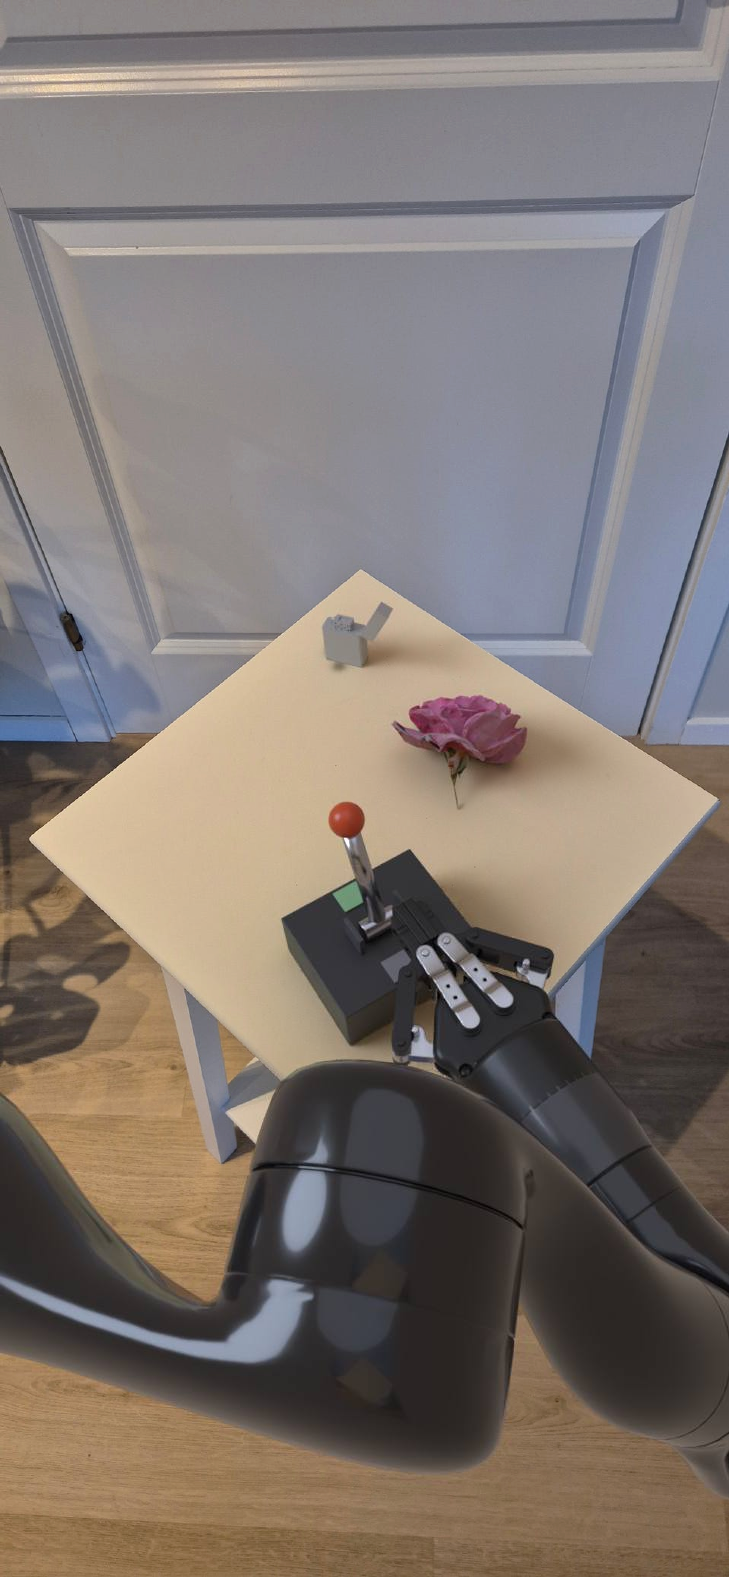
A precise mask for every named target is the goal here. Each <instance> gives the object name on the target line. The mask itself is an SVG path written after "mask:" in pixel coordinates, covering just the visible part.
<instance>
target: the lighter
mask: <svg viewBox="0 0 729 1577" xmlns="http://www.w3.org/2000/svg"><path fill="white" fill-rule="evenodd" d="M393 610H394V608H393V607H391V606H390V605H388V604H387V603H385V602H383V601H380V603H379V604H378V606H377V608H376V609H375V611H374V612H373V614H372V616H371V617H370V619H369V620H368V622H367V623H366V624H363V623H358V622H355V618H354V617H353V616H348V615H343V614H339V613H338V614H336V615H335V616H333V617H332V616H327V617H326V618H325V620H324V622H323V624H322V626H321V631H322V632H321V633H322V640H323V649H324V657H325V659H326V660H329V661H333V662H337V663H342V664H345V665H349V666H352V667H357V668H363V667H364V666H365V664H366V663H367V660H368V658H369V651H368V650H369V649H368V642H370V643H373V642H374V641H375V639H376V638H377V636H378V635H379V633H380V632H381V630H382V629H383V627H384V625H385V624H386V623H387V621H388V619H389V618H390V615H391V614H392V612H393Z"/></svg>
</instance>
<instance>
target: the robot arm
mask: <svg viewBox="0 0 729 1577" xmlns="http://www.w3.org/2000/svg"><path fill="white" fill-rule="evenodd" d="M390 919H391V929H392V934H393V936H394V937H395V938H396V940H397V941H398V943H399V944H400V945H401V947H402V948H403V949H404V951H405V952H406V954H407V955H408V956H409V958H410V959H411V961H410V963H409V964H408V965H405V966H403V967H402V968H401V969H400V970H399V974H398V984H397V993H396V1003H395V1012H394V1020H393V1021H392V1031H391V1032H392V1033H391V1042H390V1043H391V1045H390V1046H391V1056H392V1062H391V1061H382V1060H372V1059H345V1058H343V1059H331V1060H324V1061H317V1062H313V1063H310V1064H308V1065H304V1066H302V1067H299V1068H296V1069H295V1070H294V1071H292V1072H291V1073H289V1075H287V1076H285V1077H284V1078H283V1079H282V1080H281V1081H280V1083H279V1084H278V1085H277V1087H276V1088H275V1089H274V1092H273V1094H272V1096H271V1098H270V1102H269V1104H268V1107H267V1109H266V1112H265V1115H264V1117H263V1119H262V1122H261V1126H260V1129H259V1132H258V1135H257V1138H256V1142H255V1145H254V1149H253V1153H252V1157H251V1160H250V1163H249V1164H250V1165H249V1167H248V1172H249V1174H248V1175H247V1176H246V1180H245V1184H244V1188H243V1192H242V1196H241V1200H240V1204H239V1208H238V1212H237V1216H236V1221H235V1223H234V1227H233V1228H234V1229H233V1232H232V1236H231V1241H230V1243H229V1248H228V1252H227V1256H226V1260H225V1265H224V1268H223V1273H224V1274H223V1275H222V1276H223V1277H222V1279H221V1283H220V1287H219V1290H218V1293H217V1294H216V1295H215V1296H214V1297H213V1298H212V1299H210V1300H204V1299H203V1298H201V1297H199V1295H196V1294H194V1293H193V1292H192V1291H190V1290H188V1289H186V1288H185V1287H183V1286H182V1285H180V1284H179V1283H177V1282H175V1281H174V1280H172V1279H171V1278H170V1277H168V1276H167V1275H166V1274H165V1273H163V1272H162V1271H161V1270H160V1269H158V1268H157V1267H156V1266H154V1265H153V1264H151V1263H150V1262H149V1261H148V1260H147V1259H145V1258H144V1257H143V1256H142V1255H141V1254H140V1253H139V1252H137V1250H135V1249H134V1248H133V1247H132V1246H131V1245H130V1244H129V1243H128V1242H127V1240H125V1239H124V1238H123V1237H122V1236H121V1235H120V1234H119V1233H118V1232H117V1231H116V1230H115V1229H114V1228H113V1226H111V1224H110V1223H109V1222H107V1220H106V1219H104V1217H103V1216H102V1214H101V1213H100V1212H99V1211H98V1209H96V1207H95V1205H93V1204H92V1202H91V1201H90V1200H89V1199H88V1197H87V1196H86V1194H85V1192H84V1191H83V1190H82V1189H81V1187H80V1185H79V1184H78V1183H77V1181H76V1180H75V1179H74V1177H73V1176H72V1174H71V1173H70V1171H69V1170H68V1169H67V1167H66V1166H65V1164H64V1163H63V1161H62V1160H61V1159H60V1157H59V1156H58V1154H56V1152H55V1151H54V1149H53V1148H52V1146H51V1145H50V1144H49V1143H48V1141H47V1140H46V1139H45V1137H44V1136H43V1135H42V1134H41V1133H40V1132H39V1130H38V1128H36V1127H35V1125H34V1124H33V1123H32V1121H31V1120H30V1119H29V1118H28V1116H27V1115H26V1114H25V1113H24V1112H23V1111H22V1110H21V1109H20V1108H19V1106H17V1105H16V1104H15V1103H14V1102H13V1101H12V1100H11V1099H10V1098H8V1097H7V1096H6V1095H5V1094H3V1093H2V1092H1V1091H0V1354H2V1355H7V1356H11V1357H15V1358H18V1359H23V1360H27V1361H31V1362H34V1363H35V1362H36V1363H39V1364H42V1365H45V1366H49V1367H52V1368H56V1369H59V1370H62V1371H65V1372H68V1373H72V1374H75V1375H78V1376H81V1377H84V1378H87V1379H90V1380H93V1381H96V1382H99V1383H102V1384H106V1385H108V1386H110V1387H114V1388H117V1389H120V1390H123V1391H126V1392H129V1393H132V1394H135V1395H139V1396H142V1397H145V1398H147V1399H151V1400H153V1401H156V1402H158V1403H159V1402H160V1403H163V1404H166V1405H169V1406H172V1407H175V1408H177V1409H180V1410H183V1411H186V1412H189V1413H193V1414H195V1415H199V1416H201V1417H204V1418H207V1419H211V1420H213V1421H216V1422H220V1423H221V1424H225V1425H229V1426H231V1427H234V1428H237V1429H240V1430H243V1431H246V1432H250V1433H252V1434H255V1435H258V1436H261V1437H264V1438H268V1439H271V1440H274V1441H278V1442H280V1443H284V1444H287V1445H290V1446H294V1447H298V1448H301V1449H304V1450H307V1451H310V1452H312V1453H317V1454H319V1455H322V1456H327V1457H330V1458H333V1459H336V1460H341V1461H344V1462H349V1463H353V1464H357V1465H361V1466H367V1467H370V1468H374V1469H378V1470H384V1471H391V1472H397V1473H405V1474H412V1475H427V1476H436V1475H439V1476H440V1475H452V1474H459V1473H463V1472H467V1471H470V1470H473V1469H475V1468H477V1467H479V1466H481V1465H482V1464H485V1462H487V1461H488V1460H489V1459H490V1458H491V1456H493V1454H494V1453H495V1451H496V1450H497V1448H498V1446H499V1444H500V1442H501V1438H502V1435H503V1432H504V1431H503V1430H504V1425H505V1422H506V1416H507V1410H508V1404H509V1396H510V1388H511V1381H512V1380H511V1378H512V1372H513V1370H512V1369H513V1363H514V1353H515V1339H516V1335H517V1325H518V1317H519V1316H518V1315H519V1308H520V1310H521V1312H522V1314H523V1316H524V1319H525V1320H526V1322H527V1324H528V1326H529V1328H530V1330H531V1332H532V1333H533V1335H534V1337H535V1339H536V1341H537V1343H538V1344H539V1346H540V1348H541V1350H542V1352H543V1354H544V1356H545V1358H546V1360H547V1361H548V1362H549V1364H550V1366H551V1368H552V1369H553V1370H554V1372H555V1373H556V1375H557V1376H558V1377H559V1379H560V1380H561V1381H562V1382H563V1384H564V1385H565V1387H566V1388H567V1390H568V1391H569V1392H570V1394H572V1395H573V1396H574V1397H575V1398H576V1399H577V1400H578V1401H579V1402H580V1403H581V1404H582V1405H583V1406H584V1407H585V1408H586V1409H588V1410H589V1411H590V1412H591V1413H592V1414H594V1415H595V1416H596V1417H597V1418H599V1419H601V1420H602V1421H604V1422H605V1423H607V1424H609V1425H610V1426H612V1427H614V1428H617V1429H619V1430H621V1431H623V1432H626V1433H629V1434H632V1435H636V1436H639V1437H642V1438H645V1439H649V1440H651V1441H656V1442H659V1443H662V1444H667V1445H669V1446H670V1447H671V1448H672V1449H673V1450H674V1451H675V1452H676V1453H677V1454H678V1456H679V1457H680V1458H681V1460H682V1461H683V1463H684V1464H685V1466H686V1467H687V1468H688V1469H689V1471H690V1472H691V1473H692V1475H693V1476H694V1477H695V1478H696V1479H697V1480H698V1481H699V1482H701V1484H702V1485H703V1486H705V1488H707V1489H708V1490H709V1491H710V1492H711V1493H713V1494H714V1495H715V1496H718V1497H720V1498H722V1499H724V1500H728V1501H729V1231H728V1230H727V1229H726V1228H725V1227H724V1226H723V1225H722V1224H721V1223H720V1222H719V1221H718V1220H717V1219H716V1218H715V1217H714V1216H713V1215H712V1214H711V1213H710V1212H709V1211H708V1210H707V1209H706V1207H705V1206H704V1205H703V1204H702V1203H701V1202H700V1201H699V1200H698V1199H697V1197H696V1196H695V1195H694V1194H693V1193H692V1192H691V1190H690V1188H688V1187H687V1186H686V1184H685V1183H684V1181H683V1180H682V1179H681V1178H680V1177H679V1175H678V1174H677V1173H676V1171H675V1170H674V1169H673V1167H672V1166H671V1165H670V1164H669V1162H668V1161H667V1160H666V1159H665V1158H664V1156H663V1155H662V1154H661V1153H660V1151H659V1150H658V1149H657V1147H655V1146H654V1143H653V1142H652V1141H651V1139H650V1138H649V1137H648V1135H647V1134H646V1132H645V1130H644V1129H643V1127H642V1126H641V1124H640V1122H639V1121H638V1119H637V1117H636V1115H635V1114H634V1112H633V1111H632V1110H631V1108H630V1107H629V1106H628V1104H627V1103H626V1102H625V1100H624V1099H623V1098H622V1096H621V1095H620V1094H619V1092H618V1091H617V1090H616V1088H614V1086H613V1085H612V1084H611V1083H610V1081H609V1080H608V1079H607V1078H606V1077H605V1075H604V1074H603V1073H602V1071H601V1070H600V1069H599V1068H598V1067H597V1065H596V1064H595V1063H594V1061H592V1059H591V1058H590V1056H589V1055H588V1054H587V1052H586V1051H585V1050H584V1049H583V1048H582V1047H581V1045H580V1044H579V1043H578V1041H577V1040H576V1038H574V1036H573V1035H572V1034H571V1032H569V1030H568V1029H567V1028H566V1026H565V1025H564V1024H563V1022H561V1020H560V1019H559V1018H557V1016H556V1015H555V1014H554V1012H553V1009H552V1007H551V1001H550V997H549V995H548V993H547V992H546V991H545V986H546V983H547V981H548V980H549V979H550V977H551V974H552V970H553V965H554V959H555V953H554V952H553V950H552V949H551V948H549V947H546V946H543V945H540V944H536V943H532V942H528V941H526V940H522V939H519V938H516V937H512V936H509V935H505V934H501V933H498V932H495V931H492V930H489V929H488V930H487V929H484V928H481V927H478V926H471V928H469V929H468V930H467V931H466V932H464V933H459V934H453V933H450V932H448V931H447V930H446V929H445V928H444V926H443V925H442V924H441V922H440V921H439V920H438V918H437V917H436V916H435V915H434V913H433V912H432V911H431V909H430V908H429V907H428V905H427V904H425V903H424V902H422V901H418V902H416V903H415V902H414V900H413V899H412V898H411V897H409V898H407V899H406V900H404V901H402V902H400V903H399V904H397V905H395V906H393V907H392V917H390ZM485 965H487V966H491V967H494V968H497V969H501V970H504V971H507V972H509V973H510V972H511V973H514V974H515V976H516V977H512V976H510V975H506V974H503V973H500V972H498V971H493V970H489V969H488V968H487V967H486V966H485ZM423 983H424V985H425V986H426V988H427V990H428V991H429V993H430V995H431V998H430V999H431V1000H432V1001H431V1002H433V1004H434V1011H433V1012H434V1013H433V1035H432V1036H433V1039H432V1042H430V1041H428V1039H427V1037H426V1032H425V1029H424V1028H423V1027H422V1026H420V1025H417V1024H415V1023H416V1014H417V1006H416V1003H417V993H418V989H419V988H420V987H421V986H422V985H423ZM411 1062H413V1063H423V1064H433V1066H434V1067H435V1069H436V1070H437V1071H438V1073H439V1074H437V1073H433V1072H431V1071H428V1070H424V1069H421V1068H419V1067H415V1066H410V1064H411ZM440 1074H441V1075H440Z"/></svg>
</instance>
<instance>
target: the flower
mask: <svg viewBox="0 0 729 1577" xmlns="http://www.w3.org/2000/svg"><path fill="white" fill-rule="evenodd" d="M408 716H409V719H410V721H411V722H412V723H413V725H414V726H415V727H416V728H417V729H418V730H417V729H414V728H409V727H405V726H403V725H402V724H400V723H399V722H398V721H397V720H396V719H395V720H393V722H392V723H390V726H392V727H393V728H394V730H396V732H397V733H398V734H399V736H400V737H401V739H402V741H403V742H405V743H406V744H409V745H411V746H413V747H415V748H419V749H424V750H429V751H432V752H435V753H436V754H440V755H442V756H443V757H444V758H445V760H446V762H447V768H448V769H449V771H450V772H449V773H450V776H449V777H450V779H451V782H452V785H453V790H454V795H455V796H454V797H455V803H456V804H455V805H456V809H457V810H458V809H459V803H458V802H459V801H458V796H457V792H456V782H457V778H459V779H461V774H462V773H463V772H464V770H465V769H466V768H467V766H468V764H469V762H470V758H474V759H479V760H480V761H481V762H488V763H490V764H506V763H508V762H511V761H512V760H514V759H515V758H516V757H517V756H519V755H520V754H521V752H522V751H523V750H524V748H525V745H526V743H527V736H528V727H527V726H524V727H523V726H522V727H518V728H516V725H517V723H518V722H519V720H520V719H521V718H522V717H521V715H519V714H515V713H512V709H511V708H510V707H508V706H507V704H505V703H503V702H497V701H495V700H494V699H493V698H488V697H486V696H484V695H481V694H479V695H472V696H471V697H469V696H467V695H466V696H465V695H458V696H456V697H454V698H450V697H449V698H448V697H442V696H439V697H437V698H435V699H433V700H426V701H423V703H422V705H420V704H418V705H415V706H413V707H412V706H411V708H409V709H408Z"/></svg>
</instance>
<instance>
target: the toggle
mask: <svg viewBox="0 0 729 1577" xmlns="http://www.w3.org/2000/svg"><path fill="white" fill-rule="evenodd" d="M327 820H328V827H329V829H330V831H331V832H332V833H333V834H334V835H335V836H337V837H339V838H341V839H342V843H343V846H344V848H345V850H346V854H347V857H348V860H349V863H350V867H351V870H352V873H353V876H354V879H356V882H357V886H358V889H359V892H360V895H361V898H362V901H363V904H364V907H365V910H366V913H367V918H365V919H363V920H361V921H360V922H358V923H357V925H358V929H359V931H360V933H361V935H362V936H363V938H364V939H365V940H366V941H369V940H371V939H373V938H374V937H376V936H378V935H380V934H381V933H383V932H385V931H387V930H388V929H390V928H391V919H390V917H392V907H393V905H388V906H386V907H385V908H384V906H383V903H382V899H381V896H380V893H379V890H378V886H377V883H376V880H375V877H374V873H373V870H372V869H373V867H372V864H371V860H370V858H369V857H370V856H369V854H368V851H367V847H366V844H365V841H364V838H363V835H362V831H363V829H364V827H365V823H366V816H365V813H364V811H363V809H362V808H361V806H359V805H358V804H356V803H355V802H352V801H341V802H339V803H337V804H335V805H334V806H333V807H332V808H331V810H330V811H329V813H328V819H327Z"/></svg>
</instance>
